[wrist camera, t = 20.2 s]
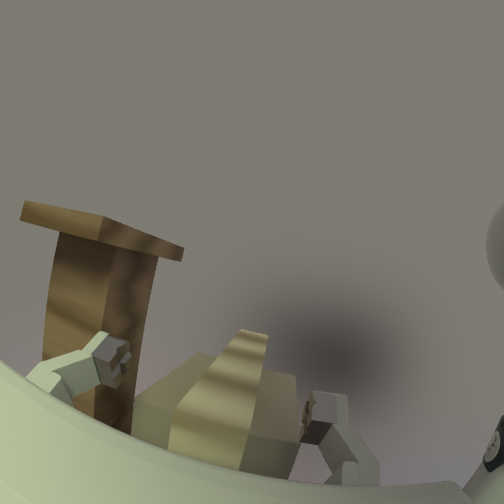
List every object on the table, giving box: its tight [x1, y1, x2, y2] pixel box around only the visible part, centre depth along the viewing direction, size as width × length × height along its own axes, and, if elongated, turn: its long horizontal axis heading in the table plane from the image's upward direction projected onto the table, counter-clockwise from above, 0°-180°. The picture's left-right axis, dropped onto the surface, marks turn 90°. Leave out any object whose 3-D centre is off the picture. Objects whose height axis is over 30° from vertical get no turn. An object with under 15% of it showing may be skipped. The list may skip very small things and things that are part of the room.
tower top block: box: [131, 353, 301, 480], centre depth 22 cm, size 14×10×8 cm
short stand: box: [20, 201, 184, 435], centre depth 23 cm, size 16×10×26 cm, turn 174°
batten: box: [168, 329, 268, 471], centre depth 21 cm, size 22×3×3 cm, turn 175°
